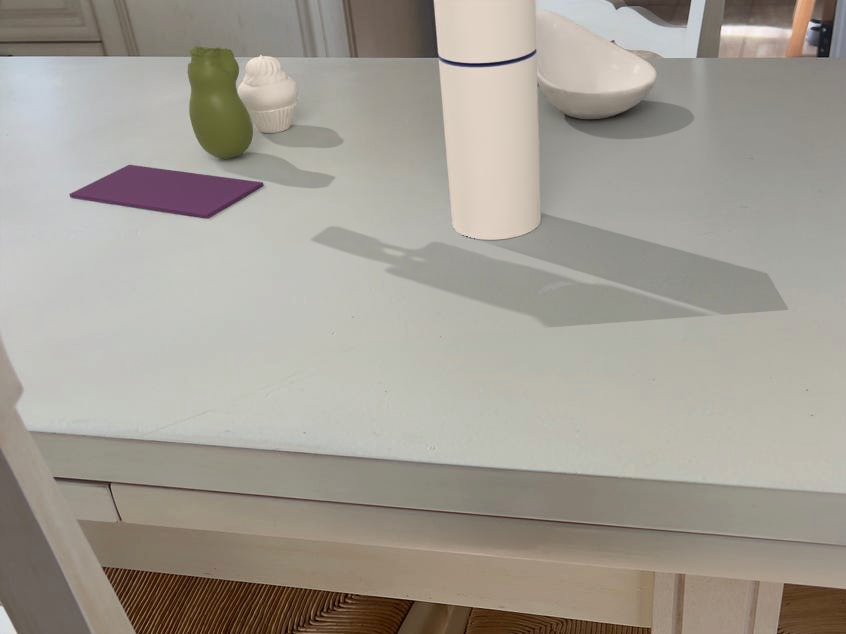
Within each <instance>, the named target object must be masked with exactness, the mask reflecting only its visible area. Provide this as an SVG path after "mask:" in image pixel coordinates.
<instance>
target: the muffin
mask: <svg viewBox="0 0 846 634" xmlns="http://www.w3.org/2000/svg"><path fill="white" fill-rule="evenodd" d="M282 68H283V67H282V63H281V62H280V60H278V59H277V58H276V57H274V56H271V55H262V54H260V55H259V56H256V57H254V58H253V57H252V58H251V59H250V60H249V61H247V62H246V64H245V68H244V71H245V75H244V77H243V79H242V82H241V83H240V84H239V86H238V87H237V92H238V95H239V97H240V99H241V100H242V102H243V103H244V105H245V107H246V109H247V111H248V113H249V115H250V118H251V121H252V124H253V125H254V126H255V127H256V129H257V130H258V131H259V132H260V133H263V134H275V133H281V132H284V131H287V130H288V129H290V127H291V124H292V121H293V118H294V115H295V112H296V108H297V104H298V99H297V98H298V95H299V94H298V93H299V87H298V85H297V83H296V81H295V80H294V79H293V78H292V77H290V76H289V75H287V72H285V71H284V70H283V69H282Z"/></svg>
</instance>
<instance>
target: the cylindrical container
mask: <svg viewBox="0 0 846 634" xmlns="http://www.w3.org/2000/svg"><path fill="white" fill-rule="evenodd" d="M433 8H434V19H435V20H434V21H435V32H436V45H437V54H438V67H439V68H438V69H439V82H440V92H441V106H442V117H443V128H444V141H445V142H444V143H445V150H446V151H445V153H446V154H445V155H446V165H447V176H448V177H447V178H448V188H449V189H448V190H449V199H450V201H449V203H450V214H451V225H453V226H452V229H453V228H454V229H455V230H454V229H453V230H454V231H455V233H457V234H459V235H461V236H463V235H464V236H463V237H466V236H468V237H467V238H470V237H471V238H470V239H474V238H475V239H474V240H483V241H484V240H485V241H496V240H508V239H512V238H517V237H520V236H524V235H526V234H529V233H530V232H532V231H534V230H535V229H536V228H538V227H539V226H540V224H541V222H542V211H541V208H542V207H541V172H540V169H541V168H540V139H539V138H540V136H539V135H540V133H539V132H540V130H539V91H538V88H539V87H538V82H537V50H536V12H537V11H536V10H537V9H536V0H433Z"/></svg>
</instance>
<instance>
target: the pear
mask: <svg viewBox="0 0 846 634" xmlns="http://www.w3.org/2000/svg"><path fill="white" fill-rule="evenodd" d="M189 54H190V62H189V63H188V64H187V79H188V81H189V85H190V97H189V104H188V110H189V111H188V113H189V119H190V123H191V127H192V130H193V133H194V135H195V138H196V140H197V142H198V143H199V145H200V146H201V148H202V149H203V150H204V151H205V152H206V153H208V154H209V155H211V156H213V157H215V158H218V159H224V160H225V159H226V160H227V159H233V158H237V157H239V156H241V155H242V154H244V153H245V152H246V151H247V150H248V149H249V147H250V146H251V143H252V141H253V136H254V126H253V125H254V124H253V122H252V121H251V118H250V115H249V113H248V111H247V109H246V107H245V105H244V103H243V102H242V100H241V99H240V97H239V95H238V92H237V89H238V87H237V80H238V78H239V74H240V66H239V64H238V61H237V59H236V57H235V54H234V52H233V50H232V49H230V48H225V47H224V48H223V47H207V46H203V47H202V46H196V45H195V46H194V47H192V48H190V51H189Z"/></svg>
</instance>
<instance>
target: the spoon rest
mask: <svg viewBox="0 0 846 634" xmlns="http://www.w3.org/2000/svg"><path fill="white" fill-rule="evenodd" d="M536 50H537V85H538V86H539V87H538V88H540V90H541V93H542V94H543V95H544V97H545V98H546V99H547V100H548V102H549V103H550V104H551V105H553V106H554V107H555V108H557V110H560V111H562V112H563V113H564V114H565V115H567V116H569V117H571V118H575V119H581V120H601V119H607V118H611V117H614V116H617V115H619V114H621V113H624V112H626V111H628V110H630V109H631V108H633V107H635V106H636V105H638V104H639V103H640V102H641V101H642V100H643V99H644V98H646V97H647V95H648V94H649V93H650V92H651V91H652V89H653V87H654V86H655V85H656V83H657V80H658V73H657V71H656V69H655V68H654V66H653V65H652V64H651V63H650V62H649V61H647V60H645V59H643V58H642V57H640V56H639V55H637V54H635V53H632V52H631V51H629V50H627V49H625V48H622V47H621V46H618V45H617V44H615V43H613V42H611V41H609V40H607V39H606V38H604V37H602V36H600V35H598V34H597V33H595V32H593V31H591V30H589V28H586V27H584V26H582V25H580V24H579V23H577V22H575V21H574V20H571V19H570V18H568V17H566V16H564V15H562V14H559V13H557V12H555V11H552V10H546V9H545V10H544V9H543V10H539V11H536Z"/></svg>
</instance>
